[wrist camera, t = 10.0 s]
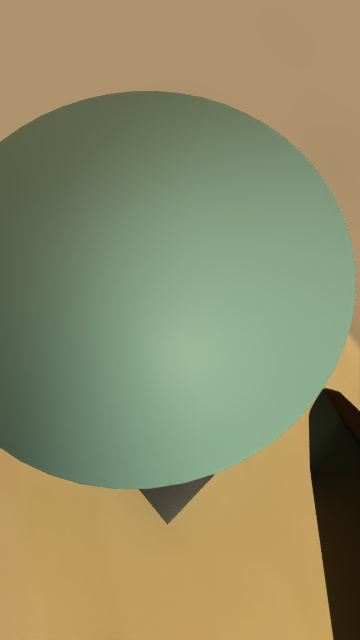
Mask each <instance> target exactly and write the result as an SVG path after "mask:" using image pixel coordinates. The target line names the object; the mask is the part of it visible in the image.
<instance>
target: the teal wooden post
mask: <svg viewBox="0 0 360 640" xmlns="http://www.w3.org/2000/svg"><path fill="white" fill-rule="evenodd" d="M355 283H356V282H355V261H354V256H353V251H352V244H351V239H350V236H349V232H348V229H347V227H346V223H345V220H344V217H343V214H342V212H341V210H340V208H339V206H338V204H337V202H336V200H335V198H334V196H333V194H332V192H331V190H330V189H329V187H328V186H327V184H326V183H325V181H324V180H323V178H322V177H321V175H320V174H319V172H318V171H317V170H316V169H315V168H314V166H313V165H312V164H311V163H310V162H309V161H308V159H307V158H306V157H305V156H304V155H303V154H302V153H301V152H300V151H299V150H298V149H296V148H295V146H293V145H292V144H291V143H290V142H289V141H288V140H287V139H286V138H284V137H283V136H282V135H280V134H279V133H277V132H276V131H275V130H273V129H272V128H270V127H269V126H268V125H266V124H264V123H262V122H261V121H259V120H257V119H255V118H254V117H252V116H250V115H248V114H246V113H244V112H242V111H239V110H237V109H234V108H232V107H230V106H227V105H225V104H221V103H219V102H215V101H211V100H209V99H205V98H202V97H196V96H191V95H186V94H181V93H170V92H159V91H135V92H134V91H133V92H124V93H116V94H107V95H103V96H98V97H94V98H89V99H85V100H82V101H78V102H76V103H72V104H69V105H66V106H63V107H61V108H58V109H56V110H54V111H52V112H49V113H47V114H45V115H42V116H40V117H39V118H37V119H35V120H34V121H32V122H30V123H28V124H26V125H24V126H23V127H21V128H19V129H18V130H17V131H15V132H14V133H12V134H11V135H10V136H8V137H7V138H5V139H4V140H2V141H1V142H0V448H2V449H3V450H5V451H6V452H8V453H9V454H11V455H12V456H14V457H15V458H17V459H18V460H20V461H21V462H24V463H26V464H28V465H30V466H32V467H34V468H36V469H38V470H41V471H43V472H45V473H47V474H49V475H52V476H56V477H59V478H62V479H66V480H69V481H73V482H76V483H79V484H84V485H91V486H98V487H105V488H113V489H150V488H157V487H163V486H170V485H176V484H183V483H186V482H190V481H193V480H196V479H200V478H203V477H206V476H209V475H213V474H216V473H218V472H220V471H222V470H225V469H227V468H229V467H231V466H233V465H235V464H237V463H240V462H242V461H244V460H246V459H248V458H249V457H251V456H252V455H254V454H255V453H257V452H258V451H260V450H261V449H263V448H264V447H266V446H267V445H269V444H270V443H272V442H273V441H275V440H276V439H277V438H278V437H279V436H280V435H282V434H283V433H284V432H285V431H286V430H287V429H288V428H289V427H291V426H292V425H293V424H294V423H295V422H296V421H297V420H298V419H299V418H300V417H301V416H302V415H303V413H304V412H305V411H306V410H307V409H308V407H309V406H310V405H311V404H312V403H313V402H314V400H315V399H316V398H317V397H318V395H319V394H320V392H321V391H322V389H323V387H324V386H325V384H326V383H327V381H328V379H329V378H330V376H331V374H332V373H333V371H334V369H335V367H336V365H337V362H338V360H339V358H340V355H341V353H342V351H343V348H344V346H345V344H346V340H347V336H348V332H349V329H350V325H351V321H352V317H353V309H354V301H355V292H356V284H355Z"/></svg>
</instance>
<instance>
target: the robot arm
mask: <svg viewBox="0 0 360 640" xmlns="http://www.w3.org/2000/svg"><path fill="white" fill-rule="evenodd" d="M309 449H310V472H311V480H312V488H313V495H314V502H315V509H316V516H317V524H318V531H319V538H320V545H321V553H322V560H323V567H324V574H325V582H326V589H327V596H328V603H329V610H330V618H331V625H332V632H333V639H334V640H360V411H359V410H358V409H357V408H356V407H355V406H354V405H353V404H352V403H351V402H350V401H349V400H348V399H347V398H345V397H344V396H343V395H342V394H341V393H340V392H338V391H335V390H331V389H328V388H324V389H322V391H321V392H320V394H319V395H318V397H317V399H316V400H315V402H314V404H313V406H312V408H311V410H310V413H309Z"/></svg>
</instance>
